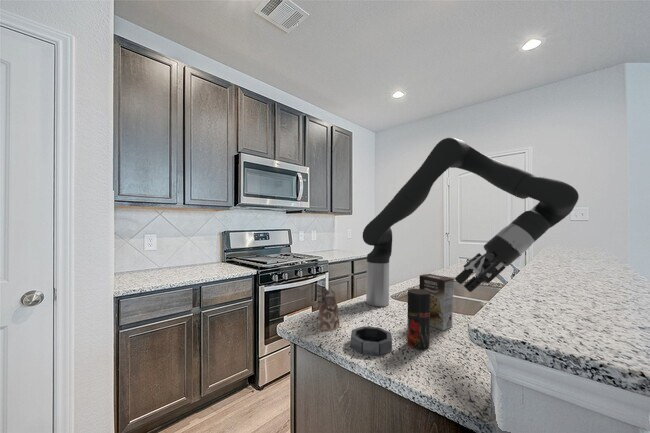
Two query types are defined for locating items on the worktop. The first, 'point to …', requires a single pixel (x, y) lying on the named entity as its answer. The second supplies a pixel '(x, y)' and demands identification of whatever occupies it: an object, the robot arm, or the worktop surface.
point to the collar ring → (371, 340)
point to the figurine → (328, 312)
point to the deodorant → (418, 319)
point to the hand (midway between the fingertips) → (461, 285)
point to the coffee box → (439, 299)
